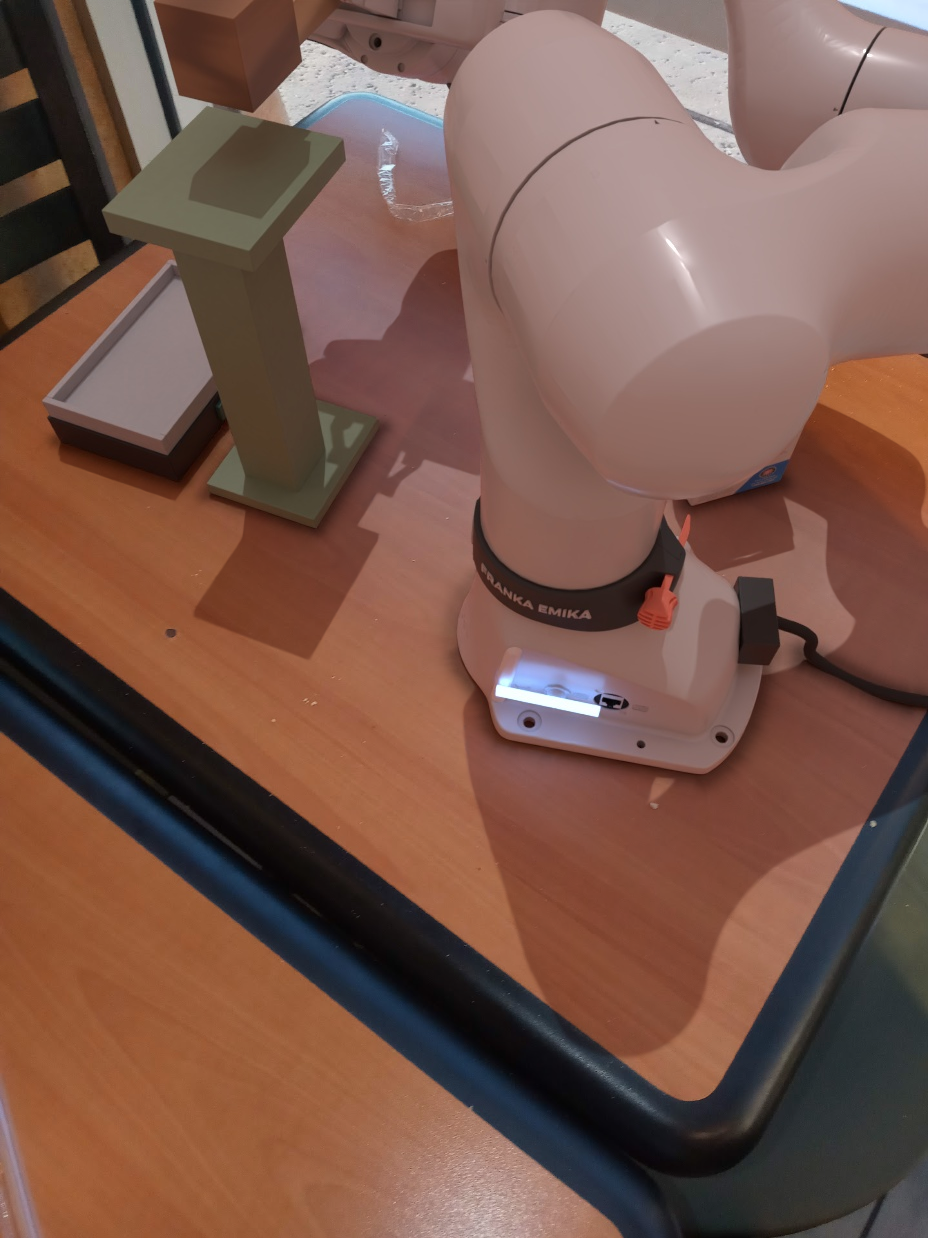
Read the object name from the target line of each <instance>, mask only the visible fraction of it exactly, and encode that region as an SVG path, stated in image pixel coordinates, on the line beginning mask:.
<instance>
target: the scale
mask: <svg viewBox="0 0 928 1238" xmlns="http://www.w3.org/2000/svg"><path fill="white" fill-rule="evenodd" d="M41 402H42V404H43V406H44V408H45V410H46V411H47V414H48V415H47V417H46V419H47V421H48V422H49V424H50V425H51V427H52V429H53V431H54V433H55V435H56V436H57V438H58V440H59V442H60V443H63V444H65V445H68V446H72V447H75V448H77V449H80V450H83V451H87V452H89V453H92V454H95V455H98V456H101V457H104V458H107V459H110V460H112V461H115V462H119V463H121V464H124V465H128V466H131V467H134V468H136V469H139V470H142V471H145V472H148V473H151V474H153V475H157V476H159V477H163V478H166V479H169V480H172V481H174V482H177V483H179V482H180V481H181V479H182V478H183V477H184V476H185V474H186V473H187V472H188V470H189V469H190V468H191V466H192V465H193V464H194V462H195V461H196V460H197V458H198V457H199V455H200V454H201V453H202V452H203V450H204V449H205V448H206V446H207V445H208V444H209V442H210V441H211V440H212V438H214V435H215V434H216V433H217V432H218V430H219V429H220V427H222V425H223V424H224V422H225V420H227V418H226V415H225V412H224V408H223V405H222V402H221V399H220V396H219V393H218V390H217V387H216V384H215V381H214V378H213V375H212V371H211V368H210V365H209V362H208V359H207V356H206V353H205V350H204V347H203V344H202V341H201V338H200V334H199V331H198V328H197V325H196V322H195V319H194V316H193V313H192V310H191V307H190V304H189V301H188V297H187V294H186V291H185V288H184V285H183V282H182V279H181V276H180V273H179V270H178V267H177V264H176V260H175V259H168V260H167V261H166V263H165V264H164V265H163V266H162V267H161V268H160V269H159V270H158V271H157V273H156V274H155V275H154V276H153V277H152V278H151V279H150V280H149V281H148V283H146V285H145V286H144V287H143V288H142V289H141V290H140V291H139V292H138V294H137V295H136V296H135V297H134V298H133V299H132V300H131V302H130V303H129V304H127V306H126V307H125V308H124V309H123V310H122V311H121V313H120V314H119V315H118V316H117V317H116V318H115V319H114V320H113V321H112V323H110V324H109V326H108V327H107V328H106V329H105V330H104V331H103V332H102V334H101V335H100V336H99V337H98V338H97V339H96V340H95V341H94V343H93V344H91V346H90V347H89V348H88V349H87V350H86V351H85V353H83V355H82V356H81V357H80V358H79V359H78V360H77V361H76V362H75V363H74V364H73V365H72V367H71V368H70V369H69V370H68V371H67V372H66V373H65V374H64V376H63V377H62V378H61V379H60V380H59V381H58V382H57V383H56V384H55V386H54V387H53V388H52V389H51V390H50V391H49V392H48V394H46V396H44V398H43V399H42V400H41Z"/></svg>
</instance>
